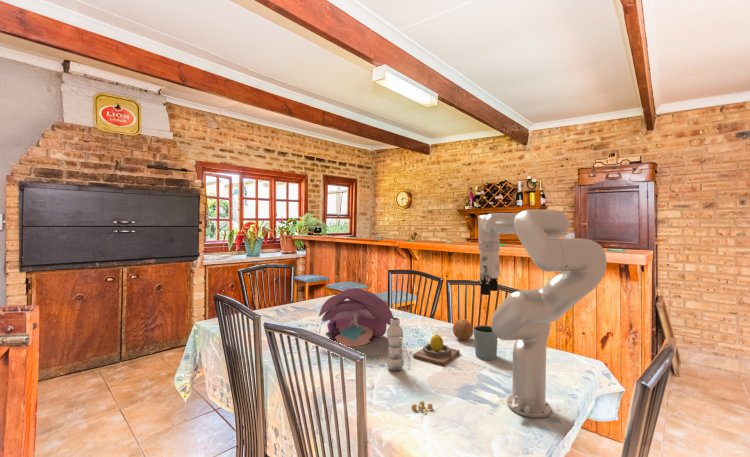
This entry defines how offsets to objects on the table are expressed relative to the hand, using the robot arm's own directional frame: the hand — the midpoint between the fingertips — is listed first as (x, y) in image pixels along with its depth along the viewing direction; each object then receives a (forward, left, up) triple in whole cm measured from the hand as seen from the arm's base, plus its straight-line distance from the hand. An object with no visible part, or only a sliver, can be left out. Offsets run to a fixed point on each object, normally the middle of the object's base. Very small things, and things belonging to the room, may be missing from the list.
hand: (489, 292), depth 132 cm
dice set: (-36, +8, -32) cm, 49 cm away
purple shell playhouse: (0, +66, -32) cm, 73 cm away
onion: (+31, +23, -32) cm, 50 cm away
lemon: (+4, +24, -30) cm, 39 cm away
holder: (+5, +24, -31) cm, 40 cm away
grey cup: (+17, +7, -32) cm, 37 cm away
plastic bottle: (-17, +31, -32) cm, 48 cm away
